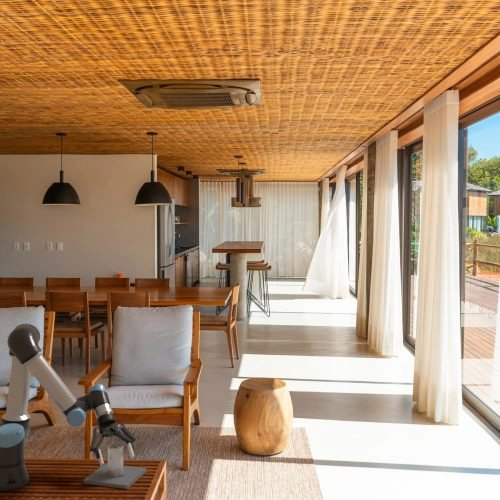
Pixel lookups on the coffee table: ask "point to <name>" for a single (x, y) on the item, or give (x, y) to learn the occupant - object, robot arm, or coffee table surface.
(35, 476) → the coffee table surface
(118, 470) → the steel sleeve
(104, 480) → the post plate
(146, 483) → the coffee table surface
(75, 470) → the coffee table surface
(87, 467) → the coffee table surface
